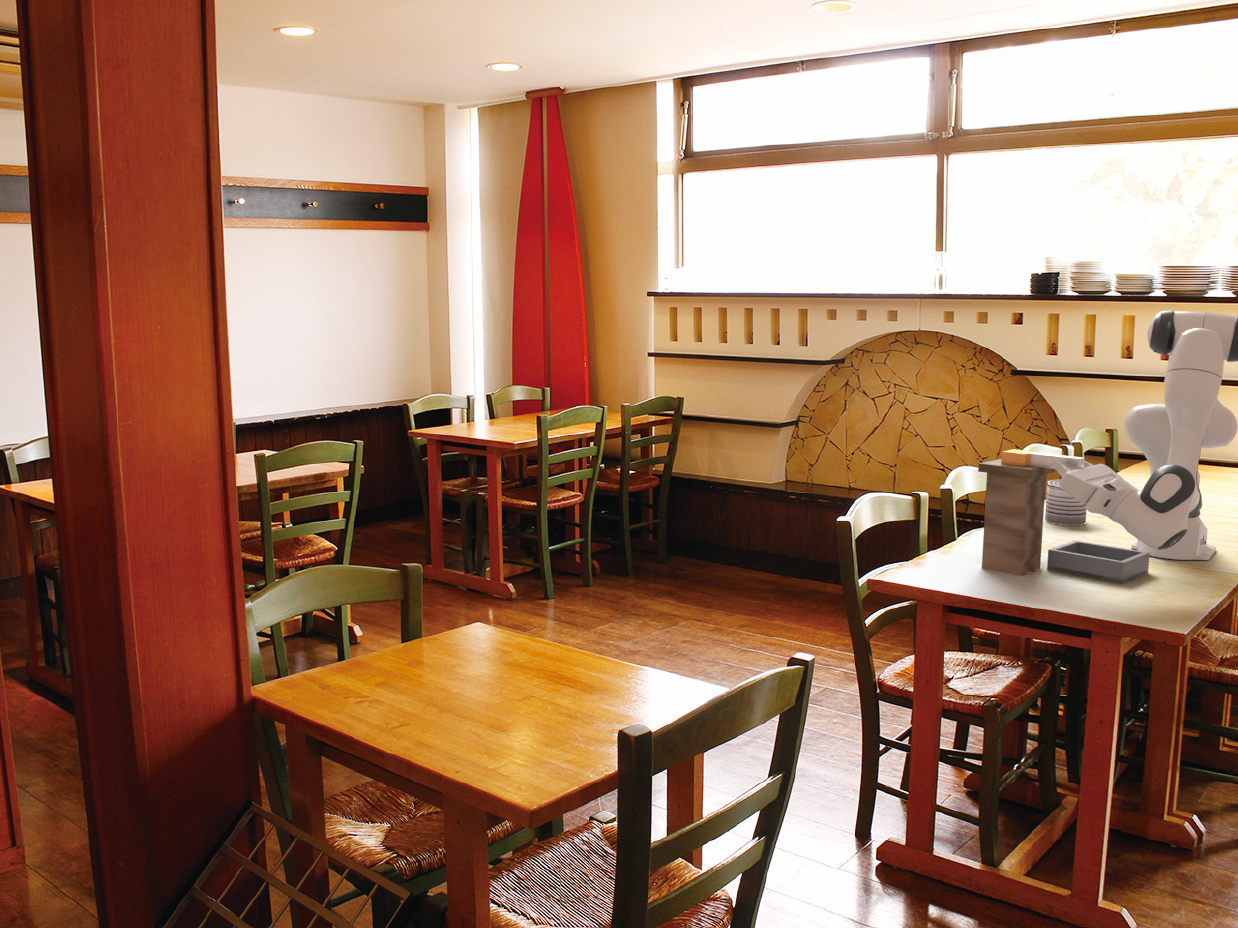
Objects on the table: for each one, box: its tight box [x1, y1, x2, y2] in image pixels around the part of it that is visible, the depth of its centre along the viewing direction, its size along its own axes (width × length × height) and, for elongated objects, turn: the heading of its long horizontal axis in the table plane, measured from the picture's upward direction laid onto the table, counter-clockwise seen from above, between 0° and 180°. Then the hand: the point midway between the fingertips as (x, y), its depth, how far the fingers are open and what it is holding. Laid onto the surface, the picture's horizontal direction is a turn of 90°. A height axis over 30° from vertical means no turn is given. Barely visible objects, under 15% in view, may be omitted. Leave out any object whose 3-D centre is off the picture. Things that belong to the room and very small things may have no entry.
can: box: [1044, 478, 1087, 526], centre depth 315 cm, size 11×11×12 cm
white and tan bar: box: [1001, 449, 1086, 470], centre depth 250 cm, size 18×6×3 cm, turn 43°
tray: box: [1046, 540, 1150, 584], centre depth 256 cm, size 15×18×5 cm
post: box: [977, 458, 1056, 577], centre depth 257 cm, size 13×13×26 cm
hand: (1063, 460), depth 247 cm, fingers open, 8 cm apart
